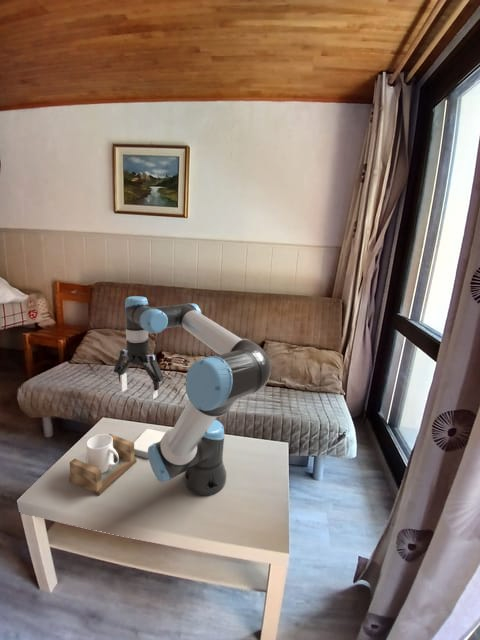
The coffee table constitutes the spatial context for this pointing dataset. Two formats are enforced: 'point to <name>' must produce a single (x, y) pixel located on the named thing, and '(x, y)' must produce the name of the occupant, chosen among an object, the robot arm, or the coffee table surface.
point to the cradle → (92, 475)
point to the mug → (101, 452)
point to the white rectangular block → (146, 442)
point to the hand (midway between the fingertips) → (138, 394)
